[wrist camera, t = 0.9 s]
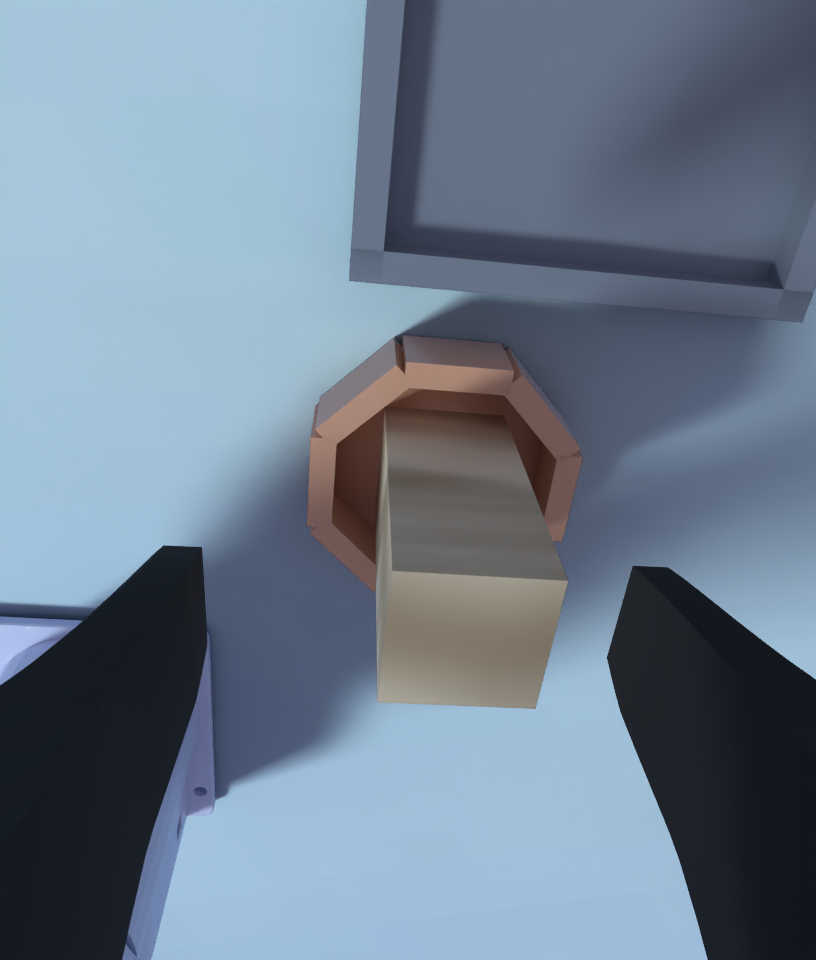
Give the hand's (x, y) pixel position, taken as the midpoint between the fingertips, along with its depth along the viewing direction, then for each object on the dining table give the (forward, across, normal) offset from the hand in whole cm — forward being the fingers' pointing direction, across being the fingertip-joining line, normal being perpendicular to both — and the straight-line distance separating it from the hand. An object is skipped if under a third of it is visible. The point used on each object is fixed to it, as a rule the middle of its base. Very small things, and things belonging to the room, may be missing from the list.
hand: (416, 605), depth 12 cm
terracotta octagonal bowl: (+10, -1, +2) cm, 11 cm away
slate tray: (+10, -5, -8) cm, 14 cm away
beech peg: (+10, -1, +2) cm, 10 cm away
